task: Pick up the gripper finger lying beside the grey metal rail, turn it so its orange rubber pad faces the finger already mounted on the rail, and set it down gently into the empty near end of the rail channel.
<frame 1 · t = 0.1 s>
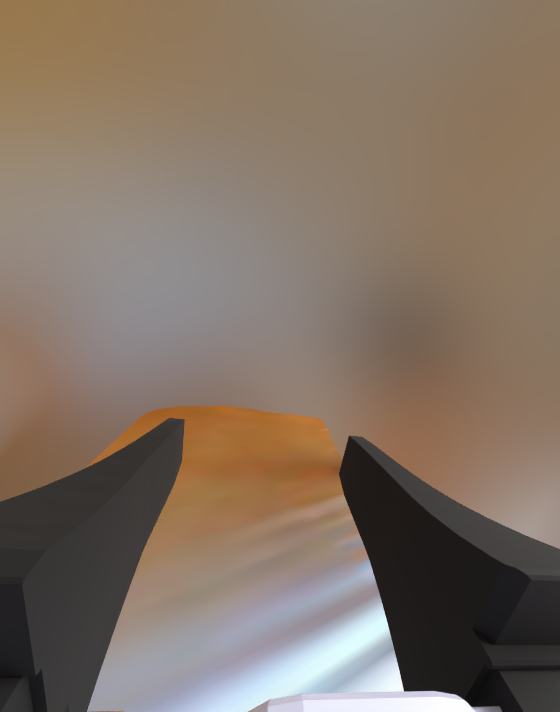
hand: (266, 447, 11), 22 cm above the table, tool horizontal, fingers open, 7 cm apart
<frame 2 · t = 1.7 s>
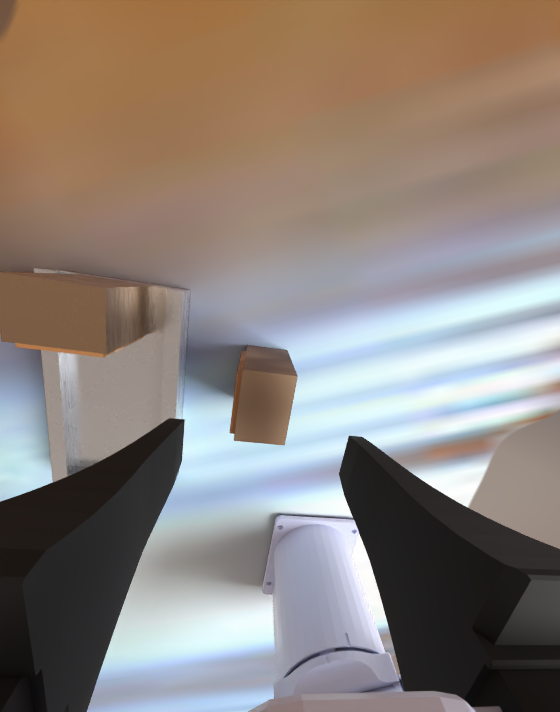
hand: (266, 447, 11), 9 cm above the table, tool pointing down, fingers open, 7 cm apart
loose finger: (263, 375, 20), on the table
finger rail: (125, 384, 19), on the table
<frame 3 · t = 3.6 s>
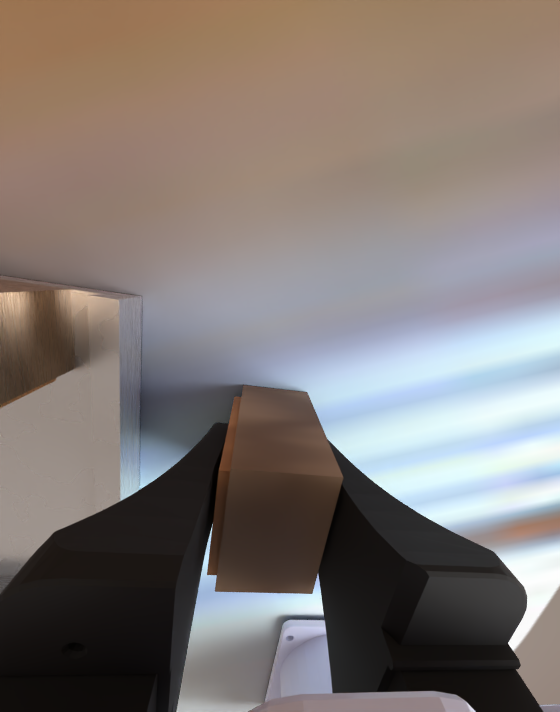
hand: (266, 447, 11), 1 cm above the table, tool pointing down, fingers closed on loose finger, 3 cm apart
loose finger: (268, 430, 13), on the table, touching gripper
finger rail: (43, 447, 12), on the table
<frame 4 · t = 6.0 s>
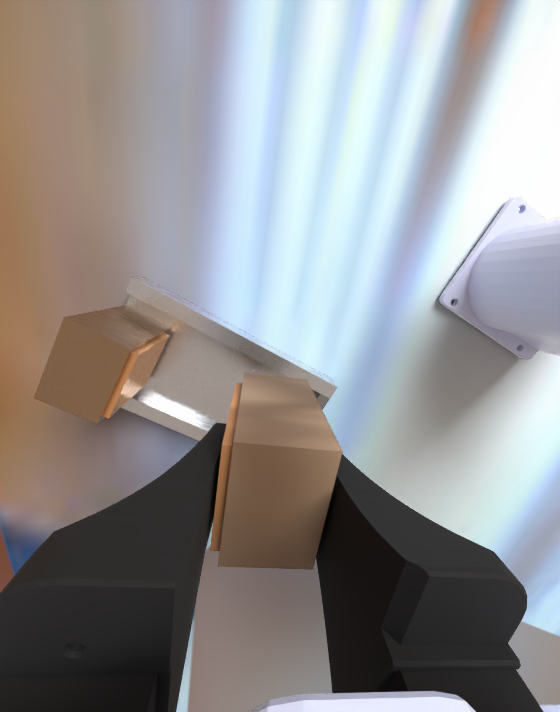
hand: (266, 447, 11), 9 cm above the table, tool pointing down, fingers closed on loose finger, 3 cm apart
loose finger: (269, 417, 13), point 7 cm above the table, touching gripper
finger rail: (218, 379, 20), on the table
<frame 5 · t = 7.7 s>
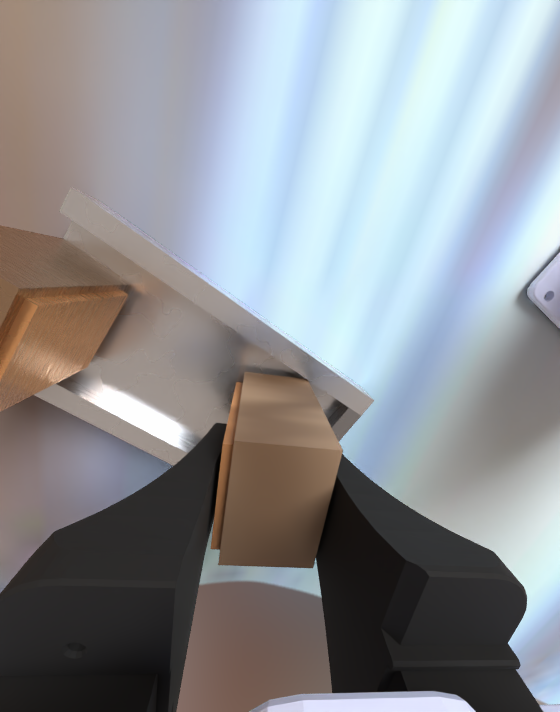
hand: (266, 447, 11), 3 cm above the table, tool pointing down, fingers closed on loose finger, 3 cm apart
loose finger: (269, 416, 13), point 1 cm above the table, touching gripper
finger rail: (202, 372, 14), on the table
when the fingers open (3 cm above the table, at t = 8.8 s): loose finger stays where it is, resting on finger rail.
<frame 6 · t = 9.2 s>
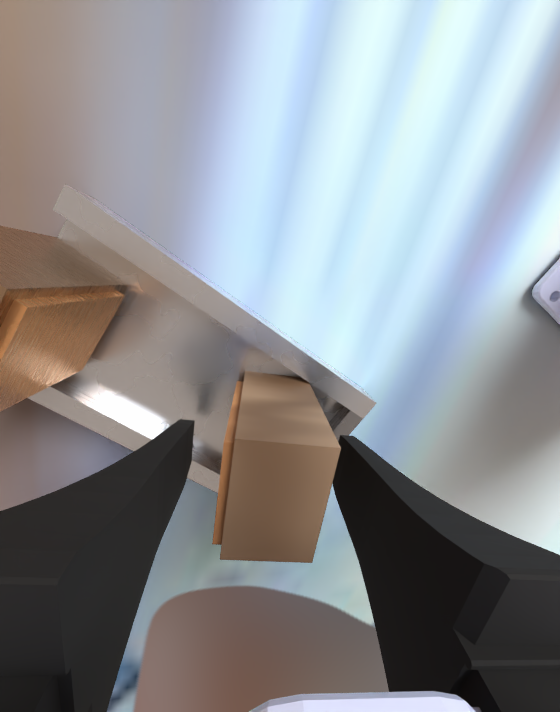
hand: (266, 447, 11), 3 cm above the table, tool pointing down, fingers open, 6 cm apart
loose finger: (269, 415, 13), point 1 cm above the table, touching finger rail
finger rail: (200, 374, 13), on the table
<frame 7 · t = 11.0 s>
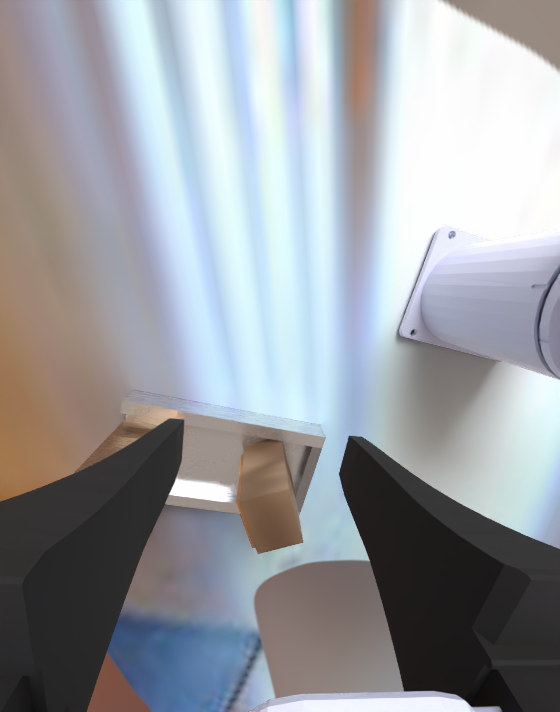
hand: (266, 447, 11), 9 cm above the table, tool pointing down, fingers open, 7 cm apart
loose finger: (269, 462, 21), point 1 cm above the table, touching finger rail
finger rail: (221, 452, 22), on the table
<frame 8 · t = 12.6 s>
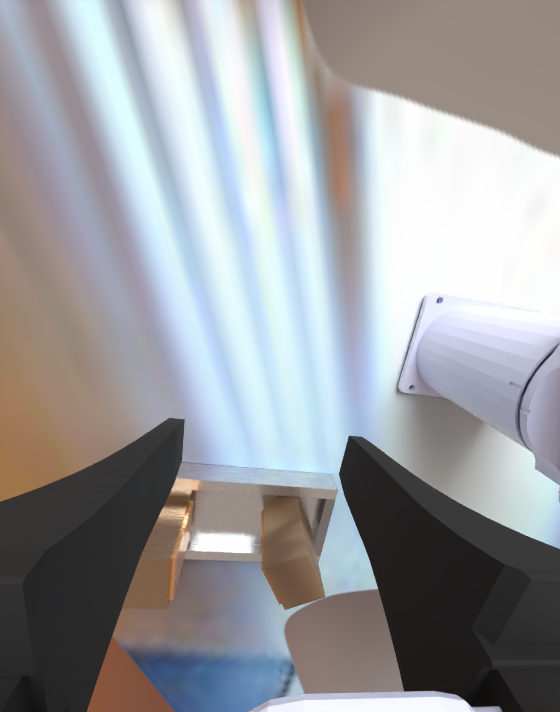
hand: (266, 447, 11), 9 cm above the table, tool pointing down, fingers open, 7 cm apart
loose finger: (287, 514, 23), point 1 cm above the table, touching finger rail
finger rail: (243, 506, 24), on the table
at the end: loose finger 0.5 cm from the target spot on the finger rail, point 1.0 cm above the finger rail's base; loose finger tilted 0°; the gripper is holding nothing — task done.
